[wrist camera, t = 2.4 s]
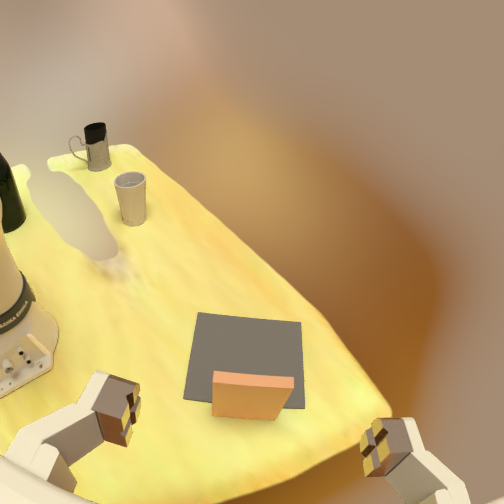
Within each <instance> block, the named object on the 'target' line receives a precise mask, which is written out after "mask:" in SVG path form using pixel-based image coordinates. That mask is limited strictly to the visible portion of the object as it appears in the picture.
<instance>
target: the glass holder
mask: <svg viewBox="0 0 504 504" xmlns="http://www.w3.org/2000/svg"><path fill="white" fill-rule="evenodd" d="M84 132H85V139H86V142H85V143H86V144H82V142H81V139H80V138H79V136H73V137H72V138H74V137H78V138H79V139H80V143H81V145H83V146H84V145H86V150H87V157H88V161H86V160H84V159H82V158H79V157H78V156H76V155H75V154H74V153H73V152H72V150H71V147H70V140H71V139H72V138H71V139H70V140H69V147H70V150H71V152H72V154H73V155H74V156H75V157H77V158H79V159H81V160H83V161H85V162H87V163H88V165H89V166H88V169H89V170H90V171H94V172H96V171H102V170H105V169H107V168H109V167H110V166H111V161H110V158H109V149H108V140H107V131H106V125H105V123H100V122H99V123H93V124H90V125H88V126H86V127H85V128H84Z"/></svg>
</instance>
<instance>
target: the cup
mask: <svg viewBox="0 0 504 504" xmlns="http://www.w3.org/2000/svg"><path fill="white" fill-rule="evenodd" d="M114 185H115V189H116V193H117V197H118V201H119V205H120V209H121V213H122V216H123V222H124V223H125V224H126V225H128V226H138V225H141V224H143V223H144V222H145V221H146V191H145V190H146V176H145V175H144V174H143V173H141V172H135V171H132V172H126V173H123V174H120V175H119V176H117V177H116V178H115V180H114Z"/></svg>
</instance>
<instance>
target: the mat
mask: <svg viewBox="0 0 504 504" xmlns="http://www.w3.org/2000/svg"><path fill="white" fill-rule="evenodd" d="M214 371H221V372H231V373H241V374H253V375H266V376H282V377H294V389H293V391H292V393H291V394H290V396H289V398H288V399H287V401H286V403H285V404H284V406H283V408H294V409H305V393H304V370H303V351H302V333H301V322H291V321H279V320H267V319H256V318H246V317H236V316H227V315H218V314H209V313H201V312H198V315H197V321H196V326H195V332H194V337H193V343H192V349H191V354H190V360H189V366H188V372H187V378H186V385H185V391H184V397H183V399H187V400H194V401H202V402H210V403H212V398H213V374H214Z"/></svg>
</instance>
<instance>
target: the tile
mask: <svg viewBox="0 0 504 504" xmlns="http://www.w3.org/2000/svg"><path fill="white" fill-rule="evenodd" d="M293 389H294V377H282V376H266V375H253V374H241V373H231V372H221V371H214V374H213V398H212V416H221V417H231V418H243V419H257V420H275V419H276V418H277V416H278V414H279V413H280V411H281V409H282V408H283V406H284V404H285V403H286V401H287V399H288V398H289V396H290V394H291V393H292V391H293Z"/></svg>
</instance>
